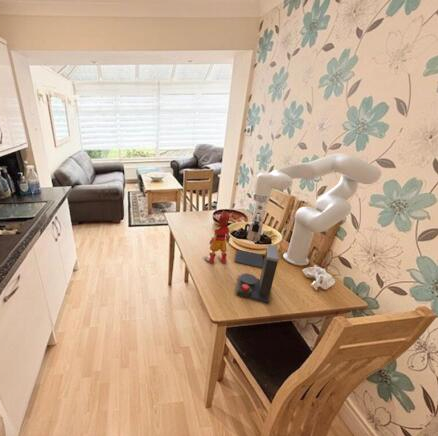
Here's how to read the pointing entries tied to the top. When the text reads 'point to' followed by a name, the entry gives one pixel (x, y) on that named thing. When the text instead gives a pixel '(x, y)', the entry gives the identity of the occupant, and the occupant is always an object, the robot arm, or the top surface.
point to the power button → (245, 287)
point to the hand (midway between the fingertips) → (255, 228)
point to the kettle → (253, 235)
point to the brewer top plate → (249, 258)
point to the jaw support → (319, 277)
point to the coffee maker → (252, 292)
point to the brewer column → (265, 271)
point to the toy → (220, 238)
